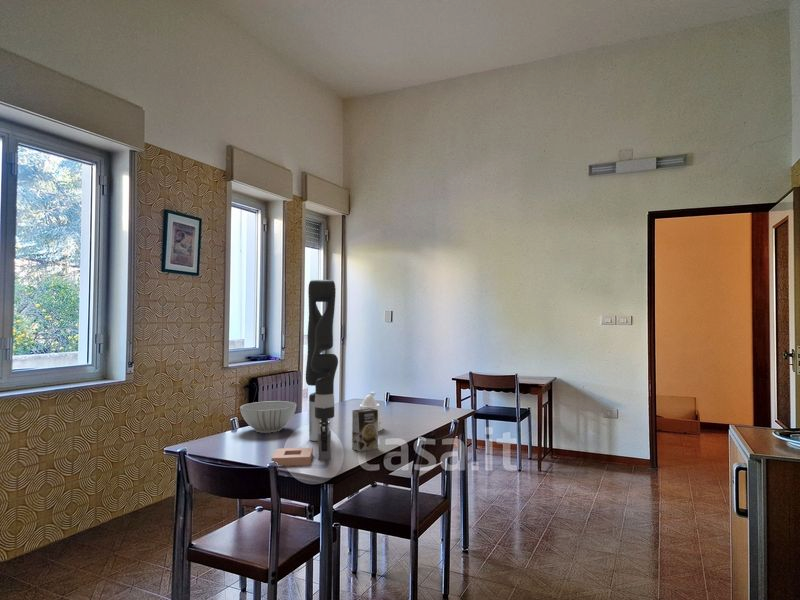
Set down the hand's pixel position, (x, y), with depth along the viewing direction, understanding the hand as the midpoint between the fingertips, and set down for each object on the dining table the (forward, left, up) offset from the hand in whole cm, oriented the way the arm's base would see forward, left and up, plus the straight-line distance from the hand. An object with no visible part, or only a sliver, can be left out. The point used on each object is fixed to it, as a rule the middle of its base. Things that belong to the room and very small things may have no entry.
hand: (324, 449), depth 200 cm
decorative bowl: (-54, -30, -4) cm, 62 cm away
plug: (0, 0, -3) cm, 3 cm away
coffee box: (-12, +16, -4) cm, 20 cm away
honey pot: (-50, +19, -4) cm, 54 cm away
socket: (+2, -12, -3) cm, 13 cm away
